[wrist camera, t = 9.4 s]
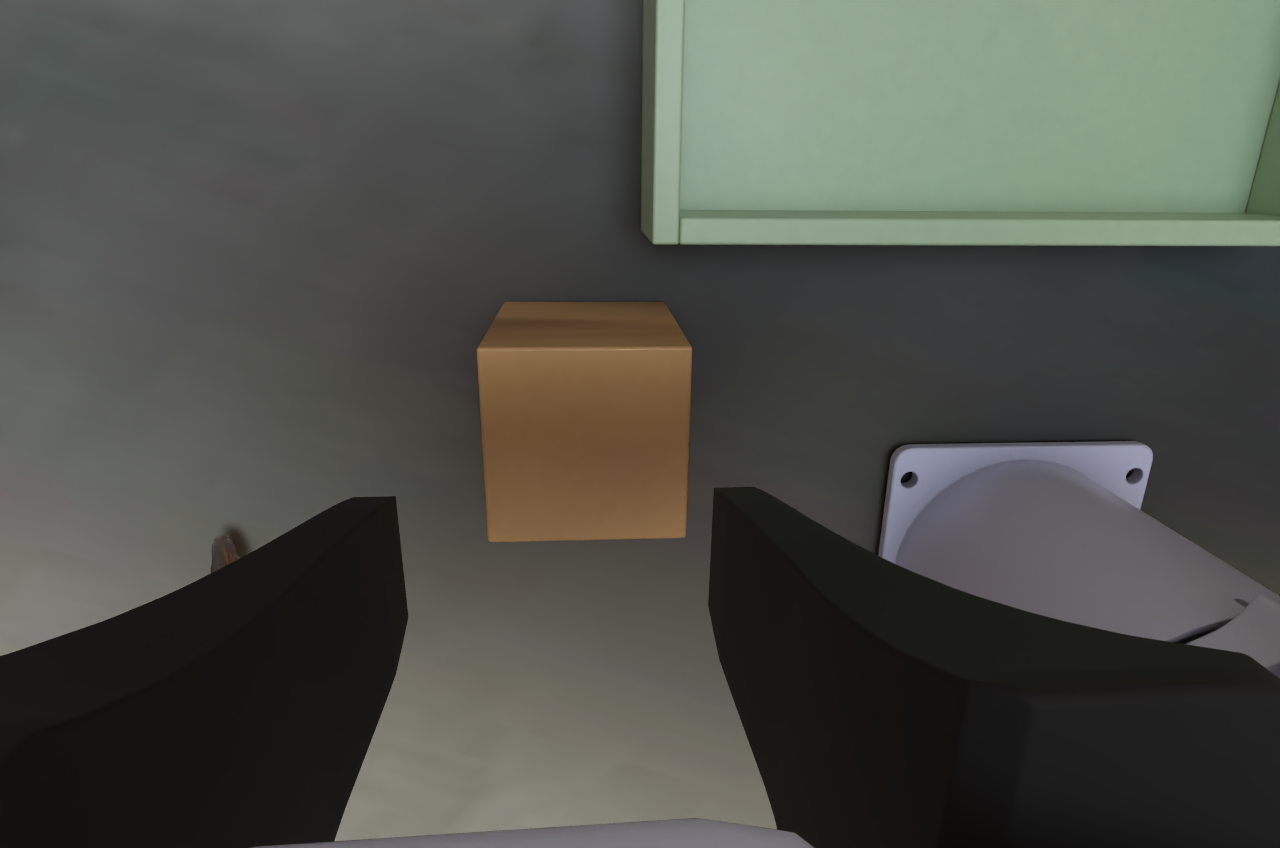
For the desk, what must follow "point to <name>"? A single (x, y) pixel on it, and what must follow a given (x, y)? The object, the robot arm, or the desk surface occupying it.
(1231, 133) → the tray
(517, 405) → the block
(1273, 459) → the desk surface
